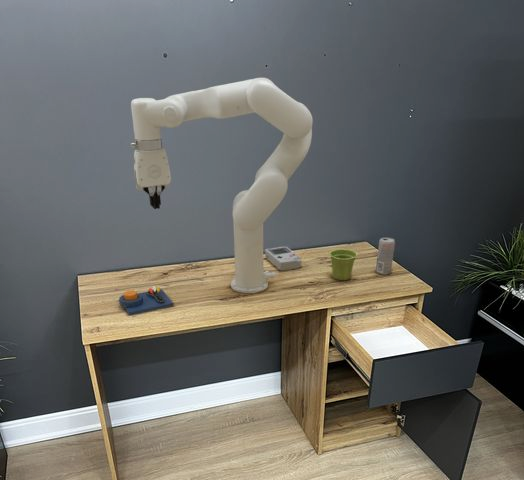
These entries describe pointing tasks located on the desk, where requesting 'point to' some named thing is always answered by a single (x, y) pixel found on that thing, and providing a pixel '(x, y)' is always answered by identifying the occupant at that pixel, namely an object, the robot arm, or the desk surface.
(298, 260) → the handheld gaming device
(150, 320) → the desk surface
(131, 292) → the power button
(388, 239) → the energy drink
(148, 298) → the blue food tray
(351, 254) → the plant pot
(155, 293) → the composite cable
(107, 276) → the desk surface
